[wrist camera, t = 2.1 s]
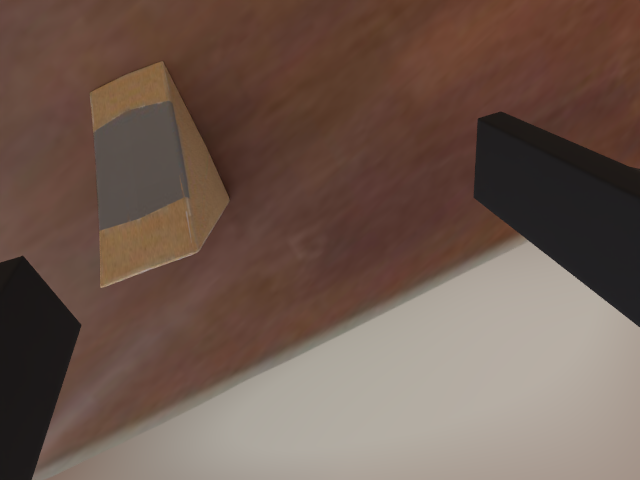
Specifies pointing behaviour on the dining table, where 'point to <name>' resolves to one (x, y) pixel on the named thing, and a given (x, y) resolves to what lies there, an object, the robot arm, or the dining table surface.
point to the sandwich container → (150, 175)
